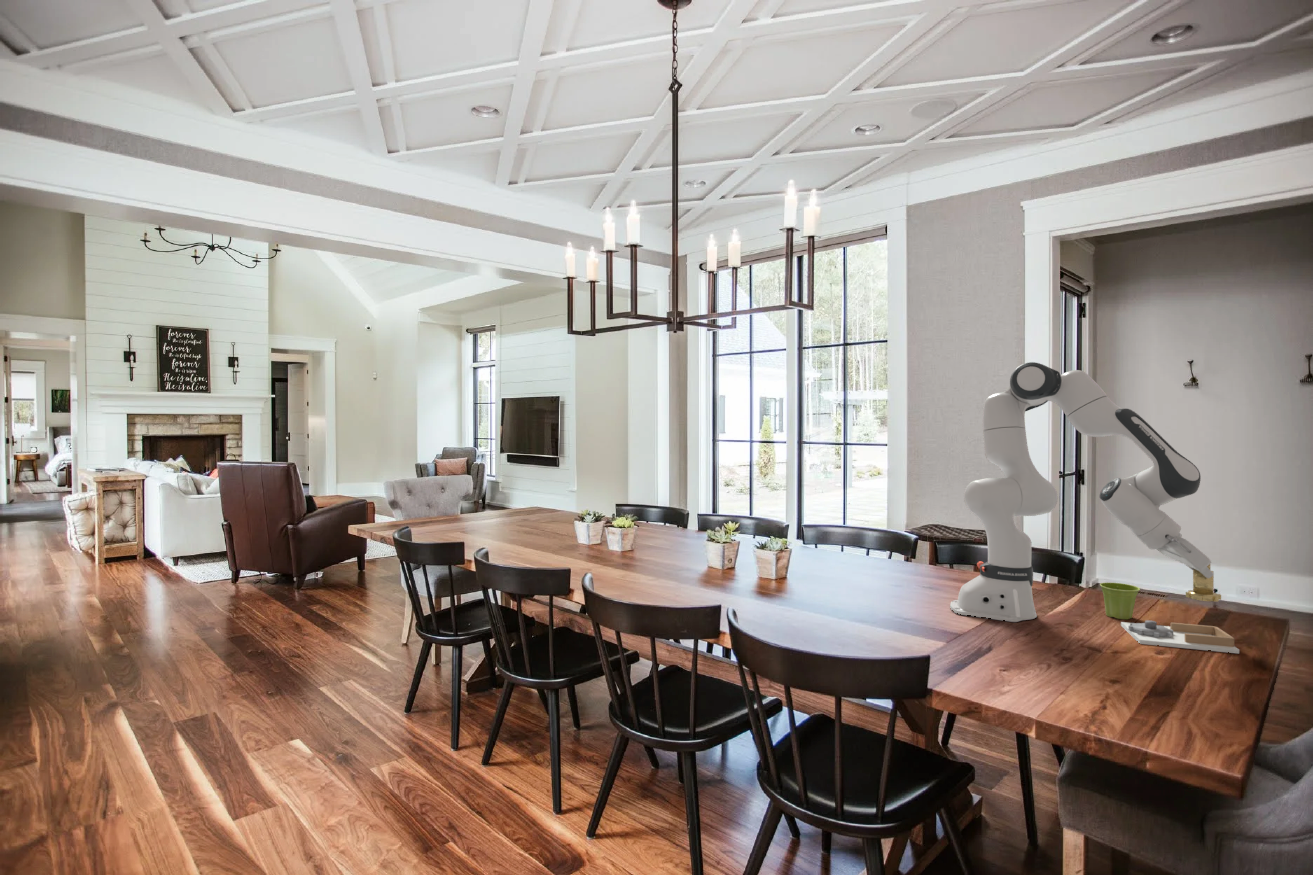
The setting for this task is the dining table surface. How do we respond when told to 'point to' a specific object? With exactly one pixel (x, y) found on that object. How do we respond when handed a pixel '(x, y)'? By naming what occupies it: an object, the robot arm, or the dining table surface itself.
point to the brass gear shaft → (1203, 588)
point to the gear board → (1181, 636)
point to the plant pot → (1119, 599)
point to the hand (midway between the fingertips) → (1205, 574)
